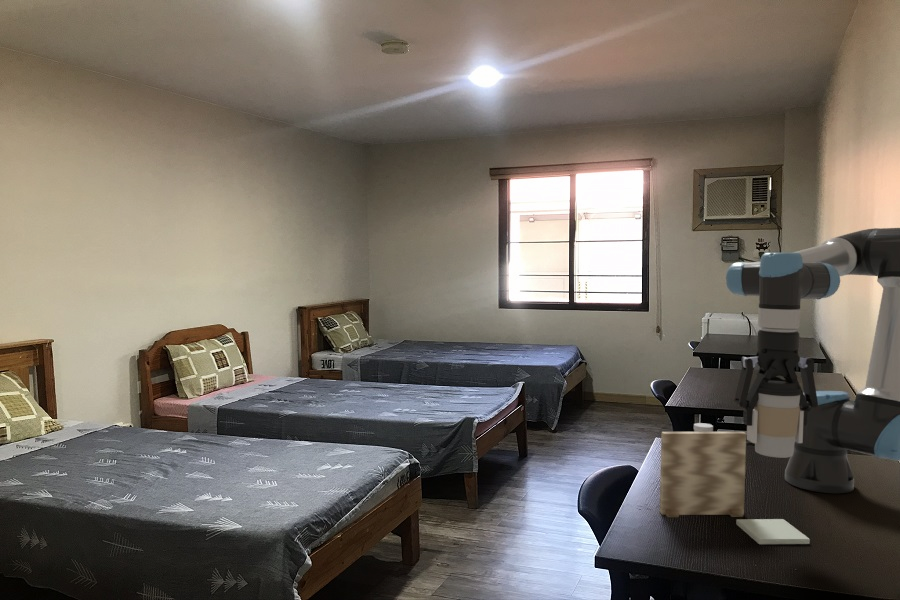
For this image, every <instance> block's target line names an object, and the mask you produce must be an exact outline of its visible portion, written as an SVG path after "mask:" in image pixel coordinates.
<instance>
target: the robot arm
mask: <svg viewBox="0 0 900 600" xmlns="http://www.w3.org/2000/svg"><path fill="white" fill-rule="evenodd" d="M725 275H726V276H725V279H726V287H727V289H728V291H730V293H732V294H733V295H737V296H738V295H740V296H745V297H747V296H749V297H751V296H752V297H754V296H755V297H758V301H759V303H758V316H757V317H758V318H757V319H758V320H757V321H758V322H757V327H758V328H760V329H759V330H758V331H757V341H756V343H757V344H756V346H757V347H756V348H757V351H756V354H755V356H750V357H746V356H742V357H741V358H740V364H741V369H740V375H739V379H738V382H737V383H738V384H737V388H736V393H735V395H734V399H733V403H734V404H735V405H736V406H738V407H740V408H742V409H743V413H742V414H743V415H742V416H743V417H742V420H743V421H742V422H743V424H744V425H746V441H748V442H750V443H752V444H755V443H757V420H758V411H757V410H755V409H754V407H755V405H756V403H757V401H758V399H759V393H758V391H759V389H758V388H761V387H762V385H763V383H764V382H768V381H769V380H770V379H771V377H782V378H783V379H784V380H786V382H789V383H793V382H795V383H796V385H797V388H801V395H800V401H799V406H800V410H799V418H798V426H797V434H796V436H795V443H794V451H793V456H792V457H789V459H788V462H787V465H786V468H785V470H784V480H785V481H786V482H787V483H788V484H790V485H791V486H794V487H797V488H799V489H803V490H807V491H812V492H817V493H823V494H845V493H846V494H847V493H850V492H853V491H854V490H855V478H854V476H853V472H852V468H851V465H850V462H849V459H848V450H849V451H852V452H856V453H857V452H858V453H861V454H865V455H869V456H872V457H873V456H874V457H876V458H878V459H887V460H891V461H897V462H898V461H900V227H883V228H881V227H880V228H879V227H878V228H876V227H874V228H867V229H861V230H858V231H854V232H850V233H846V234H842V235H839V236H835V237H832V238H828V239H826V240H825V241H823V243H821V245H816V246H812V247H809V248H805V249H801V250H797V251H793V252H765V253H763V254H762V255H761V257H760V260H757V261H742V262H741V261H740V262H739V261H737V262H734V263H731V265H730V266H729V267H728V269H727V271H726V274H725ZM849 275H852V276H854V275H855V276H867V277H868V276H869V277H871V276H872V277H877V279H876V281H877V283H878V284H879V285H880V286H881V287H882V293H881V299H880V304H879V310H878V315H877V321H876V326H875V327H876V328H875V332H874V337H873V342H872V348H871V355H870V361H869V364H868V371H867V376H866V380H865V386H864V387H863V388H861V390H858V391H857V392H856V393H855V394H856V395H855V399H854V400H850V399H851V396H850V394H849V393H848V392H846V391H842V390H841V391H839V390H817V389H816V382H815V377H814V372H813V369H814V364H815V360H814V359H813V358H812V357H807V356H804V357H801V356H800V354H799V353H798V352H799V348H800V333H799V331H797V330H799V329H801V301H802V300H821V299H826V298H830V297H832V296H833V295H834V294H836V292H838V290H839V288H840V285H841V277H843V276H849ZM756 364H757V365H758V367H759V368H758V370H757V372H756V376H755V379H754V381H753V383H752V384H751V382H752V378H753V374H754V369H755V367H756ZM797 365H798V367H799V369H800V370H799V371H800V372H799V373H800V376H801V381H802V382H801V384H802V387H801V384H800V382H799V380H798V375H797V373H796V371H795V368H796V367H797ZM750 386H751V387H750ZM753 386H755V387H756V388H755V387H753Z"/></svg>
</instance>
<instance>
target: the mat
mask: <svg viewBox="0 0 900 600" xmlns="http://www.w3.org/2000/svg"><path fill="white" fill-rule="evenodd" d="M735 521H736V523H735V524H736V526H738V527H739V528H740V529H741V530H742V531H743V532H744V533H746V534H747V535H748V536H749V537H750V538H751V539H753V540H754V541H755V542H756V543H757V544H759V545H810V541H811V539H810V538H809V537H808V536H807V535H806V534H804V533H802V532H801V531H800V530H799V529H797V528H796V527H795V526H793V525H792V524H790V523H789V522H788V521H786V520H785V519H783V518H771V519H770V518H767V519H765V518H759V519H756V518H755V519H753V518H751V519H750V518H749V519H748V518H747V519H746V518H745V519H743V518H742V519H741V518H739V519H736V520H735Z"/></svg>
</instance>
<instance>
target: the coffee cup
mask: <svg viewBox="0 0 900 600" xmlns="http://www.w3.org/2000/svg"><path fill="white" fill-rule="evenodd" d="M753 387H755V386H753ZM755 388H756V387H755ZM758 389H759V391H758V393H759V399H758V401H757V403H756V405H755V407H754V409H755V410H757V411H758V420H757V443H754V452H755V453H757V454H759V455H761V456H765V457H769V458H783V459H784V458H785V459H787V458H790V457H792V456H793V451H794V443H795V436H796V434H797V426H798V418H799V410H800V406H799V401H800V395H801V389H802V387H801V388H797V385H796V383H795V382H793V383H789V382H786V380H785V378H783V379H782V378H780V376H776V377H771V379H770V380H769V381H768V382H764V383H763V385H762V387H761V388H758Z"/></svg>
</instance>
